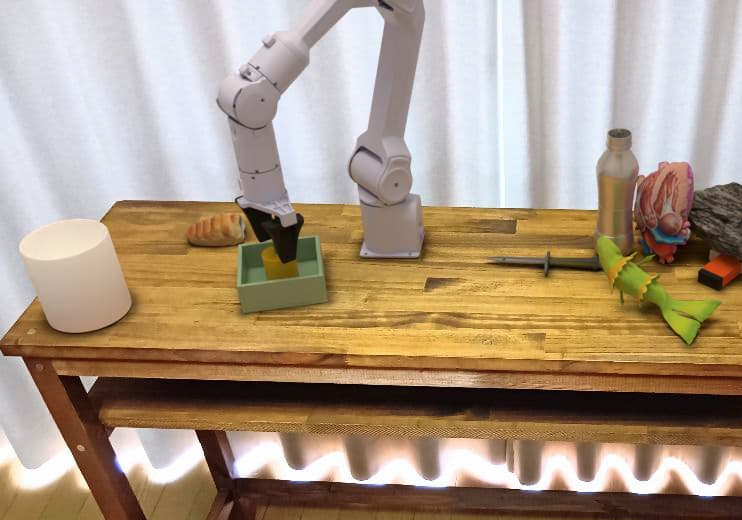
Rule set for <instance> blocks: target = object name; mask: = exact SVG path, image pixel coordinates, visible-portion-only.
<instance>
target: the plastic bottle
mask: <svg viewBox="0 0 742 520" xmlns="http://www.w3.org/2000/svg"><path fill="white" fill-rule="evenodd" d="M605 147H606V150H604V151H603V153H602V154H601V155H600V157H599V158H598V160H597V162H596V165H595V177H596V186H597V213H596V214H597V215H596V220H595V221H596V222H595V226H594V230H593V235H592V245H593V250H594V252H596V254H597V255H598V249H597V241H598V239H599V238H600V237H602V236H605V237H607V238H609V239H610V240H611V241H612V242H613V243H614V244H615V245H617V247H619V249H620V251H621V254H622V256H623V257H624V258H625V257H628V255H629V254H630V253H632V251H633V249H634V248H633V247H634V244H635V228H634V221H633V216H634V210H633V209H634V201H635V200H634V199H635V190H636V188H637V178H638V176H639V172H640V165H639V162H638V158H637V157H636V155H635V154H634V152H633V151H632V150H631V148H632V147H633V132H632V131H631V130H630V129H628V128H624V127H623V128H622V127H616V128H612V129H610V130H608V131H607V133H606V141H605Z"/></svg>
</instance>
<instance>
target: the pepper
mask: <svg viewBox="0 0 742 520" xmlns="http://www.w3.org/2000/svg"><path fill="white" fill-rule="evenodd" d="M262 260H263V264H264V269H265V273H266V278H267V281H271V280H278V279H286V278H294V277H300V276H299V271H298V266H297V261H296V260H294V261H291V262H288V263H285V264H283V263H282V262H281V260H280V259H279V257H278V254H277V251H276V248H275V245H274V243H273V246H271V247H268V248H266V249H265V250H264V251H263V252H262Z"/></svg>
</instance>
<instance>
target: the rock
mask: <svg viewBox="0 0 742 520" xmlns="http://www.w3.org/2000/svg"><path fill="white" fill-rule="evenodd" d="M687 222H689V223H690V227H688V229H689V230H690V234H692V235H695V238H698V239H700V240H702V241H703V242H705V243H706V244H707V245H709V246H710V247H711V248H714V249H715V250H716V251H718V252H720V253H722V254H724V255H725V256H727V257H732V258H734V259H737V260H740V261H742V184H741V183H739V182H736V181H732V182H729V183H724V184H716V185H713V186H711V187H706V188H704V189H699V190H697V189H696V190H694V196H693V202H692V207H691V210H690V212H689V214H688V218H687Z"/></svg>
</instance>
